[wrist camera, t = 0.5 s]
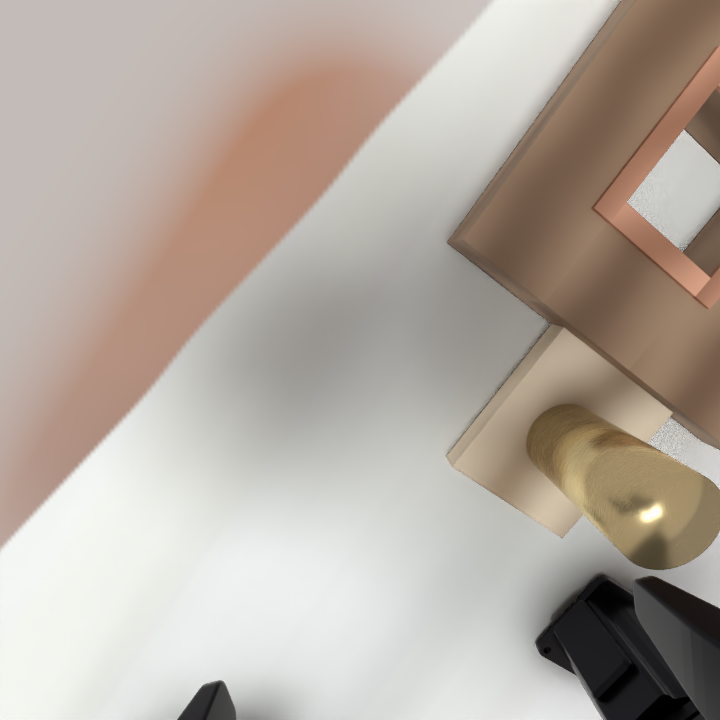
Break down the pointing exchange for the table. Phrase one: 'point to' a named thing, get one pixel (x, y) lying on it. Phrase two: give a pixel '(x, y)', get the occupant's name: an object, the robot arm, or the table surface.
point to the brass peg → (626, 487)
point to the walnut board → (603, 253)
